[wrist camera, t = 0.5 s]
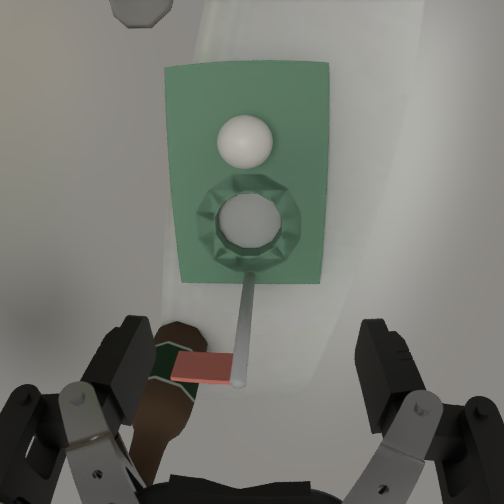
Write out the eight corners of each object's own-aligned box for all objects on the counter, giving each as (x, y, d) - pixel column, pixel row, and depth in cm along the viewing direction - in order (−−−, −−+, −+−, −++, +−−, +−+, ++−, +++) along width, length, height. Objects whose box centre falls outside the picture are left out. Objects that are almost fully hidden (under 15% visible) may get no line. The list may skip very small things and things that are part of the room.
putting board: (170, 69, 29) (79, 41, 13) (325, 65, 28) (384, 22, 12) (185, 274, 39) (137, 382, 23) (317, 275, 38) (345, 390, 22)
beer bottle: (175, 310, 41) (113, 470, 20) (219, 343, 43) (189, 504, 22) (146, 339, 44) (85, 480, 22) (187, 368, 46) (150, 511, 24)
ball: (220, 115, 29) (211, 116, 25) (272, 114, 29) (273, 114, 24) (222, 164, 31) (214, 174, 27) (272, 164, 31) (273, 173, 26)
